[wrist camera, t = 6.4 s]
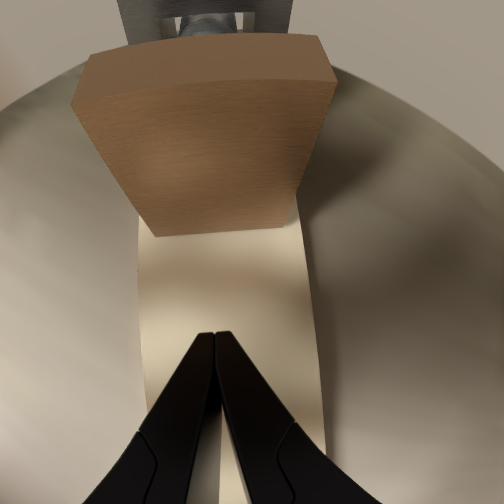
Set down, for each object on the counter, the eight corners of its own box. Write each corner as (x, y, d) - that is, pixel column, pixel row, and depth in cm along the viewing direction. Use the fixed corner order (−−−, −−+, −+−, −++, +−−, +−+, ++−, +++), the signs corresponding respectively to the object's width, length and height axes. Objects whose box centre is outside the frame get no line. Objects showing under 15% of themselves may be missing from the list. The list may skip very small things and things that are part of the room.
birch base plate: (324, 540, 11) (328, 549, 10) (183, 552, 10) (181, 561, 9) (267, 74, 20) (269, 64, 19) (157, 82, 19) (154, 73, 18)
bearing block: (273, 119, 17) (295, -15, 8) (154, 129, 16) (116, -1, 8) (262, 68, 18) (275, -45, 10) (161, 76, 18) (139, -35, 9)
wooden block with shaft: (282, 227, 14) (338, 82, 6) (155, 237, 14) (70, 105, 5) (256, 63, 18) (266, -53, 9) (167, 70, 17) (147, -44, 9)
